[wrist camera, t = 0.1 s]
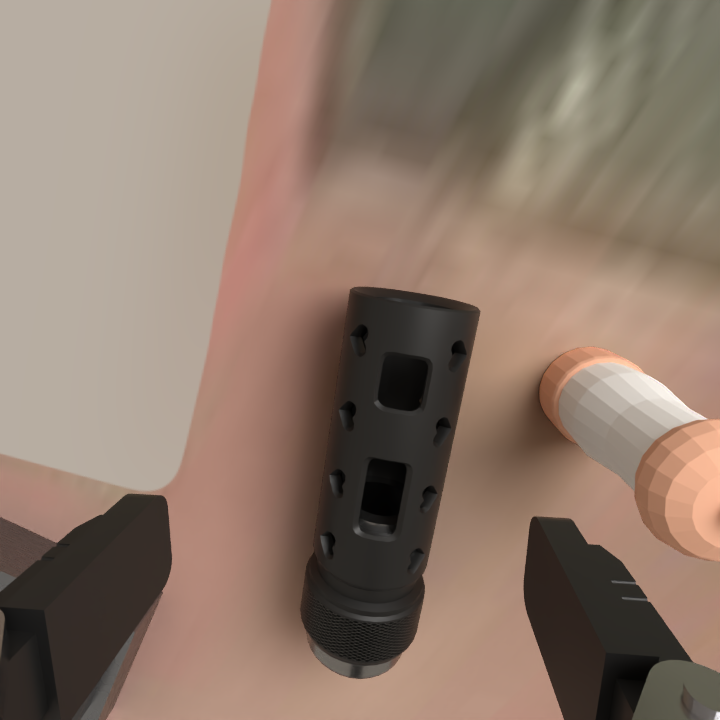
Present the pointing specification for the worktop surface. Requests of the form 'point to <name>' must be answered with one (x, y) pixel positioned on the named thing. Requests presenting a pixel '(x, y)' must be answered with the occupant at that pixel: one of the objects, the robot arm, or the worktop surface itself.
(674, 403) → the pepper shaker
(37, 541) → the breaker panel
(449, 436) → the muzzle brake
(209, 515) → the worktop surface
